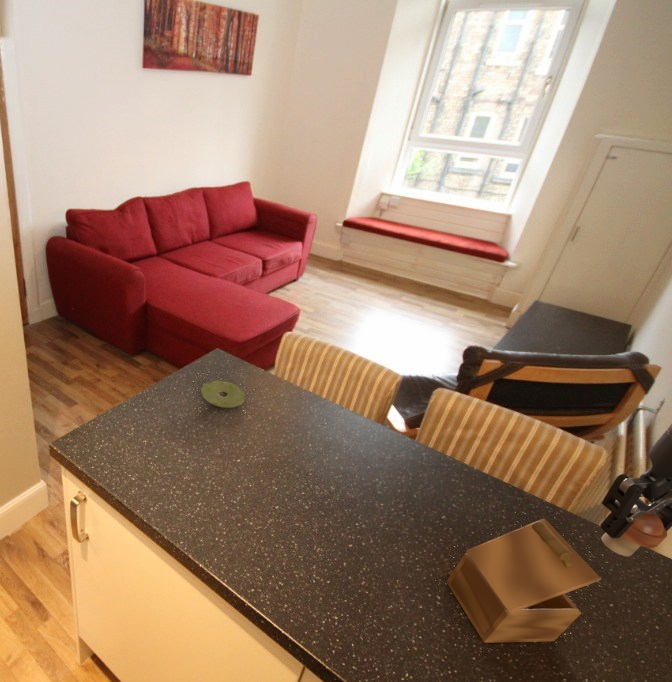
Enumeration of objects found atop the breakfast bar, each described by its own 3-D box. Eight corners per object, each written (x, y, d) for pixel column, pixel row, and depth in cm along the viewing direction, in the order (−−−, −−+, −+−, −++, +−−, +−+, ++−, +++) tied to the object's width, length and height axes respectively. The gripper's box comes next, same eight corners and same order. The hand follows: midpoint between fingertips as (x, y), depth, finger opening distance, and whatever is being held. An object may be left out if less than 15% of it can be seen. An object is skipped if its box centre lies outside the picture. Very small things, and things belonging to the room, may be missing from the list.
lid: (545, 520, 68) (538, 503, 65) (601, 580, 59) (595, 563, 57) (466, 552, 71) (457, 537, 69) (509, 613, 63) (501, 598, 60)
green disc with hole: (206, 382, 120) (207, 376, 119) (247, 392, 117) (248, 386, 116) (195, 406, 111) (196, 399, 110) (240, 418, 108) (241, 411, 107)
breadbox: (508, 581, 76) (531, 553, 72) (554, 641, 68) (582, 613, 64) (445, 581, 75) (464, 553, 71) (483, 642, 67) (508, 614, 63)
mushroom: (629, 536, 66) (661, 502, 62) (651, 569, 61) (687, 535, 58) (584, 524, 67) (613, 490, 64) (603, 555, 63) (635, 520, 59)
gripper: (728, 425, 58) (648, 511, 67) (628, 422, 57) (559, 510, 66) (802, 468, 52) (702, 557, 60) (691, 465, 51) (605, 557, 59)
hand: (628, 532), depth 63 cm, fingers closed on mushroom, 5 cm apart
